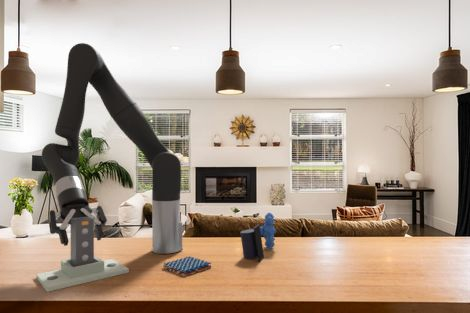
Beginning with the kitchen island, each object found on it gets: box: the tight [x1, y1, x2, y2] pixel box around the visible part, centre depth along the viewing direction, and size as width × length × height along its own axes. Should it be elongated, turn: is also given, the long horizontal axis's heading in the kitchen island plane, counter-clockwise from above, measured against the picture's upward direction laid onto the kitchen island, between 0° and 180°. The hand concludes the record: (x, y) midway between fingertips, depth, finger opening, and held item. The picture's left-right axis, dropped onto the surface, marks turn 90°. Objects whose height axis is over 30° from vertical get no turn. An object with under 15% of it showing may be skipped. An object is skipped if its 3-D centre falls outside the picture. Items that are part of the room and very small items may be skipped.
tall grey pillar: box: [70, 217, 95, 267], centre depth 90 cm, size 4×5×14 cm
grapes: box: [259, 212, 277, 250], centre depth 116 cm, size 12×7×12 cm, turn 176°
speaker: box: [240, 224, 265, 263], centre depth 105 cm, size 8×6×10 cm
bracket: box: [36, 254, 130, 293], centre depth 90 cm, size 20×12×4 cm, turn 131°
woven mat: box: [162, 256, 212, 277], centre depth 95 cm, size 10×11×2 cm
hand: (83, 241), depth 89 cm, fingers open, 8 cm apart
